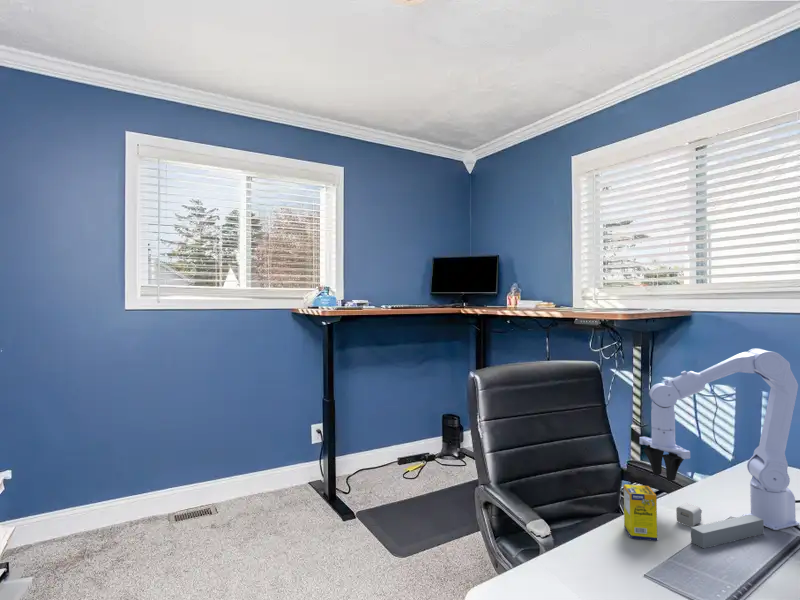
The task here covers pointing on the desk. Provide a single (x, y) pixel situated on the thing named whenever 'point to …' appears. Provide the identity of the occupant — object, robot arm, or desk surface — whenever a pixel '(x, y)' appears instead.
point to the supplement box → (640, 512)
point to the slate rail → (726, 530)
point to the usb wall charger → (689, 514)
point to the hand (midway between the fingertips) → (664, 477)
